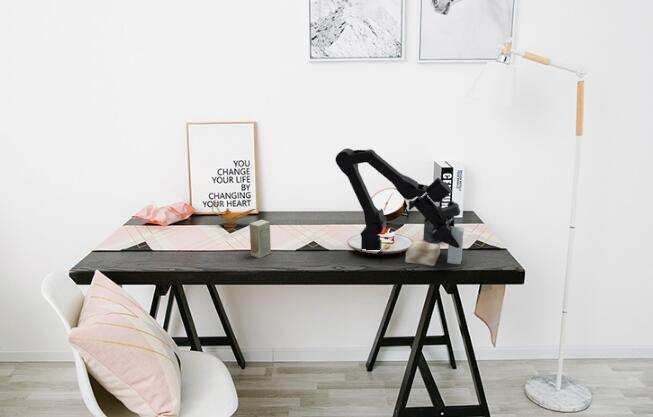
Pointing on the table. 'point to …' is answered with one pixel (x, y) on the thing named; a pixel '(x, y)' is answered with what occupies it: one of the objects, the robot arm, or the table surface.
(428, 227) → the box
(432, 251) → the wooden block
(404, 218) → the table surface
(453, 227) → the tall block
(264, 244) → the skincare box
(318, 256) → the table surface
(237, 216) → the magic lamp
